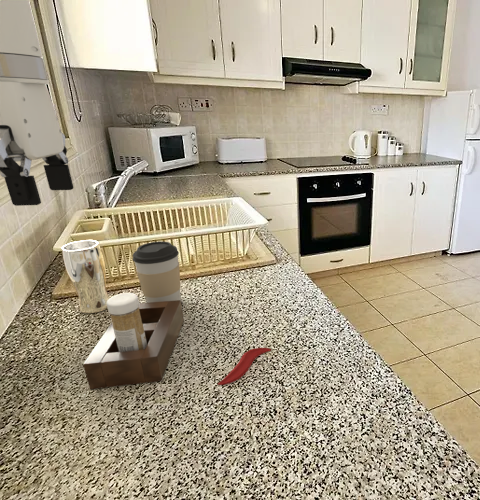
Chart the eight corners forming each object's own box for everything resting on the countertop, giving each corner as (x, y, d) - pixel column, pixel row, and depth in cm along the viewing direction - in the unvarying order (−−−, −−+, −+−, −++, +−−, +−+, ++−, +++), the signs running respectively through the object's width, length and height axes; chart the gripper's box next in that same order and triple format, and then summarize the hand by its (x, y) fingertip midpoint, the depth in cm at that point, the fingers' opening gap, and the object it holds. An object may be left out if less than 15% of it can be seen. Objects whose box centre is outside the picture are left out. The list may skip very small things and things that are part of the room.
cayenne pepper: (264, 345, 73) (263, 337, 72) (279, 355, 70) (278, 346, 69) (207, 376, 64) (206, 367, 64) (222, 388, 62) (221, 379, 61)
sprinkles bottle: (156, 358, 68) (143, 293, 63) (137, 374, 64) (122, 306, 59) (135, 354, 69) (121, 290, 64) (115, 370, 65) (98, 302, 60)
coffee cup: (133, 310, 84) (120, 248, 78) (166, 293, 92) (155, 235, 86) (164, 319, 81) (152, 255, 75) (194, 300, 88) (186, 241, 83)
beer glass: (120, 304, 86) (106, 244, 80) (87, 318, 80) (69, 253, 75) (104, 296, 89) (90, 237, 84) (71, 308, 84) (54, 246, 78)
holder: (89, 389, 61) (82, 364, 59) (128, 325, 78) (124, 304, 76) (162, 381, 63) (157, 356, 61) (184, 320, 81) (180, 299, 79)
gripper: (17, 74, 57) (48, 185, 63) (-76, 64, 41) (-24, 213, 48) (73, 76, 59) (97, 184, 65) (3, 67, 43) (44, 211, 49)
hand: (46, 196), depth 56 cm, fingers open, 9 cm apart
